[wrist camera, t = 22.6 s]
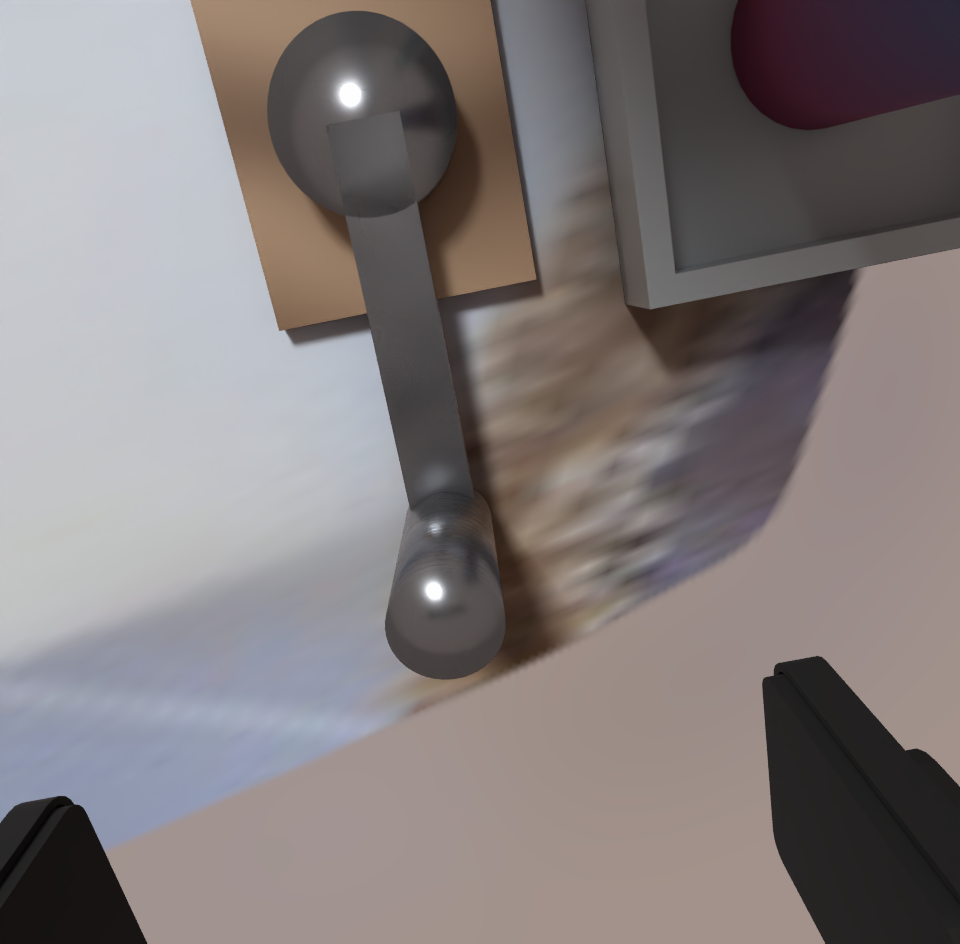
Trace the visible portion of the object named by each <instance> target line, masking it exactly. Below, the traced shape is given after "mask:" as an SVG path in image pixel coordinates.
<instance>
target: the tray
mask: <svg viewBox="0 0 960 944" xmlns="http://www.w3.org/2000/svg"><path fill="white" fill-rule="evenodd" d="M737 2H738V0H585V3H586V10H587V18H588V26H589V33H590V41H591V48H592V56H593V63H594V71H595V79H596V86H597V94H598V101H599V109H600V116H601V124H602V132H603V139H604V147H605V154H606V162H607V169H608V177H609V185H610V192H611V200H612V207H613V215H614V223H615V230H616V238H617V245H618V253H619V260H620V268H621V276H622V283H623V291H624V298H625V304H627V305H631V306H636V307H641V308H645V309H655V308H660V307H665V306H670V305H675V304H680V303H685V302H690V301H695V300H700V299H705V298H710V297H715V296H721V295H726V294H731V293H736V292H741V291H746V290H751V289H756V288H761V287H766V286H771V285H776V284H781V283H786V282H791V281H796V280H801V279H806V278H811V277H816V276H821V275H826V274H831V273H836V272H841V271H846V270H851V269H856V268H862V267H866V266H871V265H876V264H882V263H887V262H891V261H896V260H901V259H907V258H912V257H916V256H922V255H926V254H932V253H937V252H942V251H947V250H952V249H957V248H960V95H956V96H952V97H948V98H944V99H940V100H936V101H932V102H928V103H924V104H920V105H916V106H912V107H908V108H904V109H900V110H896V111H892V112H888V113H884V114H880V115H876V116H872V117H868V118H864V119H860V120H856V121H852V122H848V123H844V124H840V125H837V126H833V127H829V128H825V129H814V130H802V129H794V128H790V127H787V126H784V125H781V124H779V123H776V122H774V121H773V120H771V119H770V118H768V117H767V116H765V115H764V114H762V113H761V112H760V111H759V110H758V109H757V108H756V107H755V106H754V105H753V104H752V103H751V102H750V100H749V99H748V97H747V96H746V94H745V92H744V91H743V89H742V88H741V86H740V83H739V81H738V78H737V75H736V73H735V70H734V65H733V59H732V54H731V28H732V22H733V17H734V11H735V8H736V5H737Z"/></svg>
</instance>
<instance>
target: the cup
mask: <svg viewBox="0 0 960 944" xmlns="http://www.w3.org/2000/svg"><path fill="white" fill-rule="evenodd" d="M731 54H732V59H733V65H734V70H735V73H736V75H737V78H738V81H739V83H740V86H741V88H742V89H743V91H744V92H745V94H746V96H747V97H748V99H749V100H750V102H751V103H752V104H753V105H754V106H755V107H756V108H757V109H758V110H759V111H760V112H761V113H762V114H764V115H765V116H767V117H768V118H770V119H771V120H773V121H774V122H776V123H779V124H781V125H784V126H787V127H790V128H794V129H802V130H814V129H825V128H829V127H833V126H837V125H840V124H844V123H848V122H852V121H856V120H860V119H864V118H868V117H872V116H876V115H880V114H884V113H888V112H892V111H896V110H900V109H904V108H908V107H912V106H916V105H920V104H924V103H928V102H932V101H936V100H940V99H944V98H948V97H952V96H956V95H960V0H738V2H737V5H736V8H735V11H734V17H733V22H732V28H731Z"/></svg>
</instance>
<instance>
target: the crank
mask: <svg viewBox="0 0 960 944" xmlns="http://www.w3.org/2000/svg"><path fill="white" fill-rule="evenodd" d="M267 118H268V127H269V132H270V137H271V140H272V144H273V147H274V150H275V152H276V154H277V157H278V159H279V161H280V163H281V165H282V166H283V168H284V170H285V171H286V173H287V174H288V176H289V177H290V178H291V180H292V181H293V182H294V184H295V185H296V186H297V187H298V188H299V189H300V190H301V191H302V192H303V193H304V194H306V195H307V196H308V197H309V198H311V199H312V200H313V201H315V202H316V203H318V204H320V205H321V206H323V207H325V208H327V209H329V210H331V211H333V212H336V213H338V214H340V215H342V216H346V221H347V225H348V230H349V234H350V239H351V243H352V248H353V252H354V257H355V261H356V266H357V270H358V275H359V279H360V284H361V289H362V293H363V298H364V302H365V307H366V311H367V316H368V320H369V325H370V329H371V334H372V338H373V343H374V347H375V352H376V356H377V361H378V365H379V370H380V375H381V379H382V384H383V388H384V393H385V397H386V402H387V406H388V411H389V415H390V420H391V424H392V429H393V433H394V438H395V442H396V447H397V452H398V456H399V461H400V465H401V470H402V474H403V479H404V483H405V488H406V492H407V497H408V501H409V508H408V511H407V516H406V520H405V525H404V530H403V535H402V540H401V545H400V550H399V555H398V560H397V564H396V569H395V574H394V579H393V584H392V589H391V594H390V599H389V604H388V609H387V613H386V620H385V631H386V637H387V640H388V643H389V645H390V647H391V650H392V651H393V653H394V654H395V656H396V657H397V658H398V659H399V660H400V661H401V662H402V663H403V664H404V665H405V666H406V667H408V668H409V669H411V670H412V671H414V672H416V673H418V674H420V675H423V676H426V677H429V678H434V679H457V678H461V677H465V676H468V675H471V674H473V673H475V672H477V671H479V670H480V669H482V668H483V667H485V666H486V665H487V664H488V663H489V662H490V661H491V660H492V659H493V658H494V657H495V655H496V654H497V653H498V651H499V649H500V647H501V645H502V643H503V640H504V637H505V631H506V619H505V611H504V604H503V597H502V590H501V582H500V575H499V568H498V561H497V553H496V546H495V539H494V532H493V525H492V517H491V512H490V508H489V506H488V504H487V502H486V500H485V499H484V497H483V496H482V495H481V494H480V493H479V492H478V491H477V490H476V489H474V487H473V482H472V477H471V472H470V467H469V461H468V456H467V451H466V446H465V441H464V436H463V430H462V425H461V420H460V415H459V410H458V404H457V399H456V394H455V389H454V384H453V378H452V373H451V368H450V363H449V358H448V352H447V347H446V342H445V337H444V332H443V326H442V321H441V316H440V311H439V306H438V300H437V295H436V290H435V285H434V280H433V275H432V269H431V264H430V259H429V254H428V249H427V243H426V238H425V233H424V228H423V223H422V217H421V212H420V207H419V205H420V204H422V203H423V202H424V201H425V200H427V199H428V198H429V197H430V195H431V194H432V193H433V192H434V191H435V190H436V189H437V187H438V186H439V185H440V183H441V182H442V180H443V178H444V176H445V175H446V173H447V171H448V168H449V166H450V163H451V161H452V157H453V153H454V150H455V144H456V136H457V113H456V104H455V98H454V93H453V89H452V85H451V83H450V80H449V77H448V74H447V72H446V70H445V68H444V66H443V64H442V62H441V61H440V59H439V58H438V56H437V55H436V53H435V52H434V50H433V49H432V48H431V47H430V46H429V45H428V43H427V42H426V41H425V40H424V39H423V38H422V37H421V36H420V35H418V34H417V33H416V32H415V31H414V30H412V29H411V28H409V27H408V26H406V25H405V24H403V23H402V22H400V21H398V20H396V19H394V18H391V17H389V16H386V15H383V14H380V13H375V12H369V11H346V12H339V13H335V14H332V15H328V16H326V17H324V18H321V19H319V20H317V21H315V22H314V23H312V24H311V25H309V26H307V27H306V28H305V29H303V30H302V31H301V32H300V33H299V34H298V35H297V36H296V37H295V38H294V39H293V40H292V41H291V42H290V43H289V45H288V46H287V47H286V49H285V50H284V52H283V53H282V55H281V56H280V58H279V60H278V63H277V65H276V67H275V69H274V72H273V75H272V78H271V81H270V86H269V91H268V100H267Z"/></svg>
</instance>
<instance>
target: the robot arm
mask: <svg viewBox="0 0 960 944" xmlns="http://www.w3.org/2000/svg"><path fill="white" fill-rule="evenodd" d="M762 687H763V701H764V714H765V727H766V741H767V754H768V768H769V781H770V795H771V808H772V821H773V832H774V838H775V842H776V846H777V849H778V852H779V855H780V857H781V860H782V862H783V864H784V866H785V867H786V870H787V871H788V873H789V875H790V877H791V879H792V881H793V883H794V885H795V887H796V888H797V891H798V892H799V894H800V896H801V898H802V900H803V902H804V904H805V906H806V908H807V909H808V911H809V913H810V915H811V917H812V919H813V921H814V923H815V925H816V927H817V928H818V930H819V932H820V934H821V936H822V938H823V940H824V941H825V944H960V787H959V786H958V784H957V783H956V782H955V781H954V780H953V779H952V778H951V777H950V776H949V775H948V774H947V773H946V771H945V770H944V769H943V768H942V767H941V766H940V765H939V764H938V763H937V762H936V761H935V760H934V759H933V758H932V757H931V756H930V755H928V754H927V753H926V752H924V751H922V750H919V749H912V750H906V751H905V750H904V749H903V748H902V746H901V745H900V744H899V743H898V742H897V741H896V740H895V738H894V737H893V736H892V735H891V734H890V733H889V732H888V730H887V729H886V728H885V727H884V726H883V725H882V724H881V722H880V721H879V720H878V719H877V718H876V717H875V716H874V715H873V713H871V711H870V710H869V709H868V708H867V707H866V706H865V704H864V703H863V702H862V701H861V700H860V699H859V697H858V696H857V695H856V694H855V693H854V692H853V691H852V690H851V688H850V687H849V686H848V685H847V684H846V683H845V682H844V680H842V678H841V677H840V676H839V675H838V674H837V673H836V671H835V670H834V669H833V668H832V667H831V666H830V665H829V664H828V663H827V661H826V660H825V659H823V658H822V657H819V656H816V657H810V658H804V659H799V660H794V661H788V662H783V663H778V664H776V665H775V668H774V676H770V677H765V678H764V679H763V683H762ZM0 944H147V942H146V940H145V938H144V935H143V933H142V932H141V929H140V927H139V925H138V923H137V920H136V918H135V916H134V914H133V912H132V910H131V908H130V906H129V904H128V901H127V899H126V897H125V895H124V893H123V891H122V888H121V886H120V884H119V882H118V880H117V878H116V875H115V873H114V871H113V869H112V867H111V865H110V863H109V860H108V858H107V856H106V854H105V852H104V850H103V848H102V845H101V843H100V841H99V839H98V837H97V835H96V833H95V830H94V828H93V826H92V824H91V822H90V820H89V818H88V815H87V813H86V811H85V810H84V808H83V807H81V806H80V805H74V803H73V802H72V801H71V799H69V798H67V797H66V796H57V797H52V798H46V799H41V800H35V801H30V802H25V803H21V804H19V805H16V806H15V807H14V808H13V809H12V810H11V811H10V812H9V813H8V814H7V815H6V817H5V818H4V819H3V820H2V822H1V823H0Z"/></svg>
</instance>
